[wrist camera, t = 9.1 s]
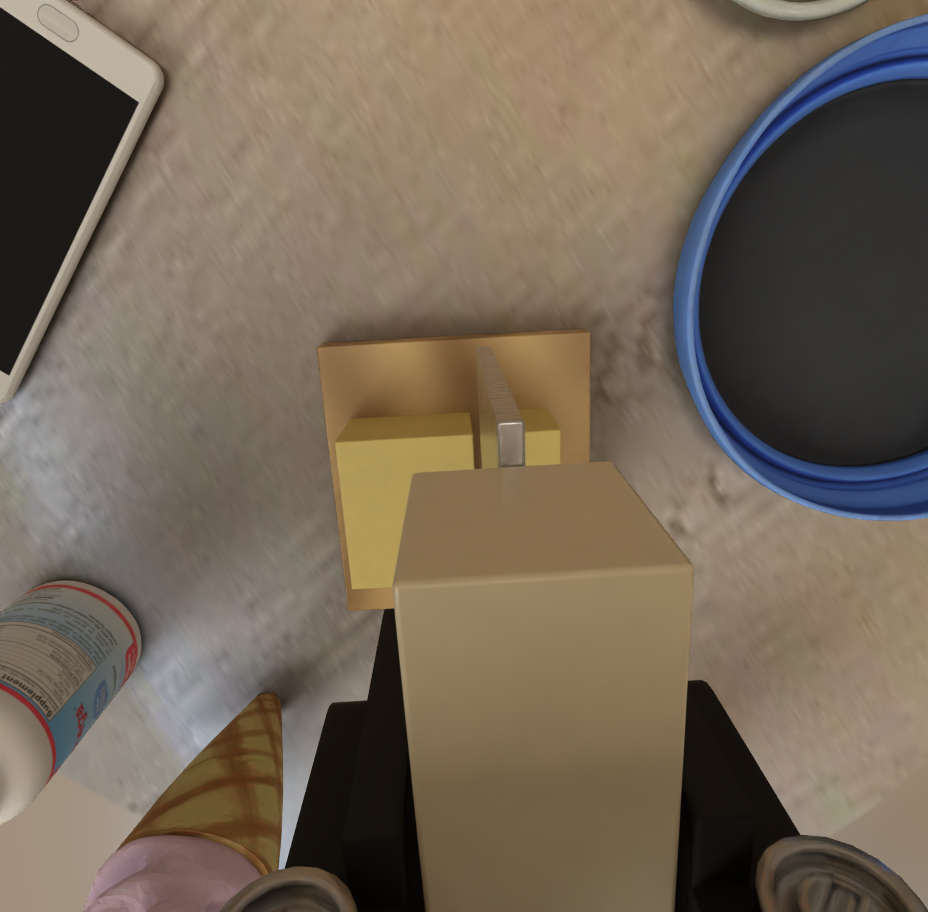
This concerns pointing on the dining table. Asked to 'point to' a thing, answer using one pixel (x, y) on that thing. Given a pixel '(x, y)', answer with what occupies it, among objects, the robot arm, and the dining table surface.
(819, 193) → the bowl
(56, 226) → the smartphone
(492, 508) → the knife
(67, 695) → the pill bottle
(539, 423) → the butter slice
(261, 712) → the ice cream cone
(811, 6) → the saucer
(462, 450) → the butter block
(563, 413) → the board
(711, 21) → the dining table surface
